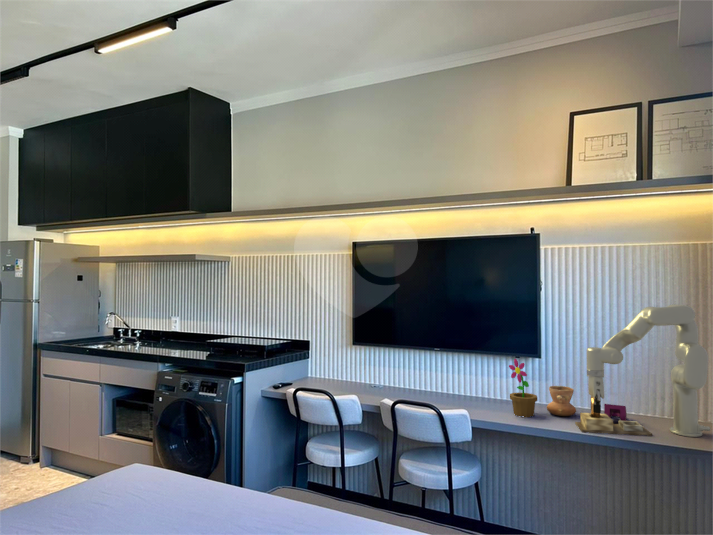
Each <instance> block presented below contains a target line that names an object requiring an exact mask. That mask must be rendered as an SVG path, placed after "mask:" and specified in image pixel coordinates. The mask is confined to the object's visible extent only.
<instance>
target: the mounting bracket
mask: <svg viewBox="0 0 713 535" xmlns="http://www.w3.org/2000/svg"><path fill="white" fill-rule="evenodd" d="M603 408H604V409H603V410H604V413H603V414H606V415H608V416H609V417H610V418H611V417H613V416H616V417H615V418H620V419H619V421H627V416H628V415H627V407H626V405H619V404H612V403H604V407H603ZM611 419H612V418H611Z"/></svg>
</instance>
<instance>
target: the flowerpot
mask: <svg viewBox="0 0 713 535" xmlns="http://www.w3.org/2000/svg"><path fill="white" fill-rule="evenodd" d="M513 364H514V365H512V364H509V365H508V368H509V369H510V370H512V371H513V372H512V373H511V374H510V375H511V376H510V377H511V379H514V378H516V379H517V382H518V383H521V385H519V386H517V387H516V388H517V389H518V390H520V391H521V392H512V393H509V399H510V401H511V402H512V409H513V415H514V414H515V415H514V416H516V415H517V416H516V417H519V416H524V417H523V418H531V417H530V416H533V417H534V416H535V407H536V402H538V395H537V394H534V393H530V392H525V388H529V386H530V385H529V382H528V381H526V380H524V377H527V376H528V374H527V373H526V371H524V370H523V369H524V367H525V362H522V363H520V364H519V360H518V359H517V358H514V360H513Z"/></svg>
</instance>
